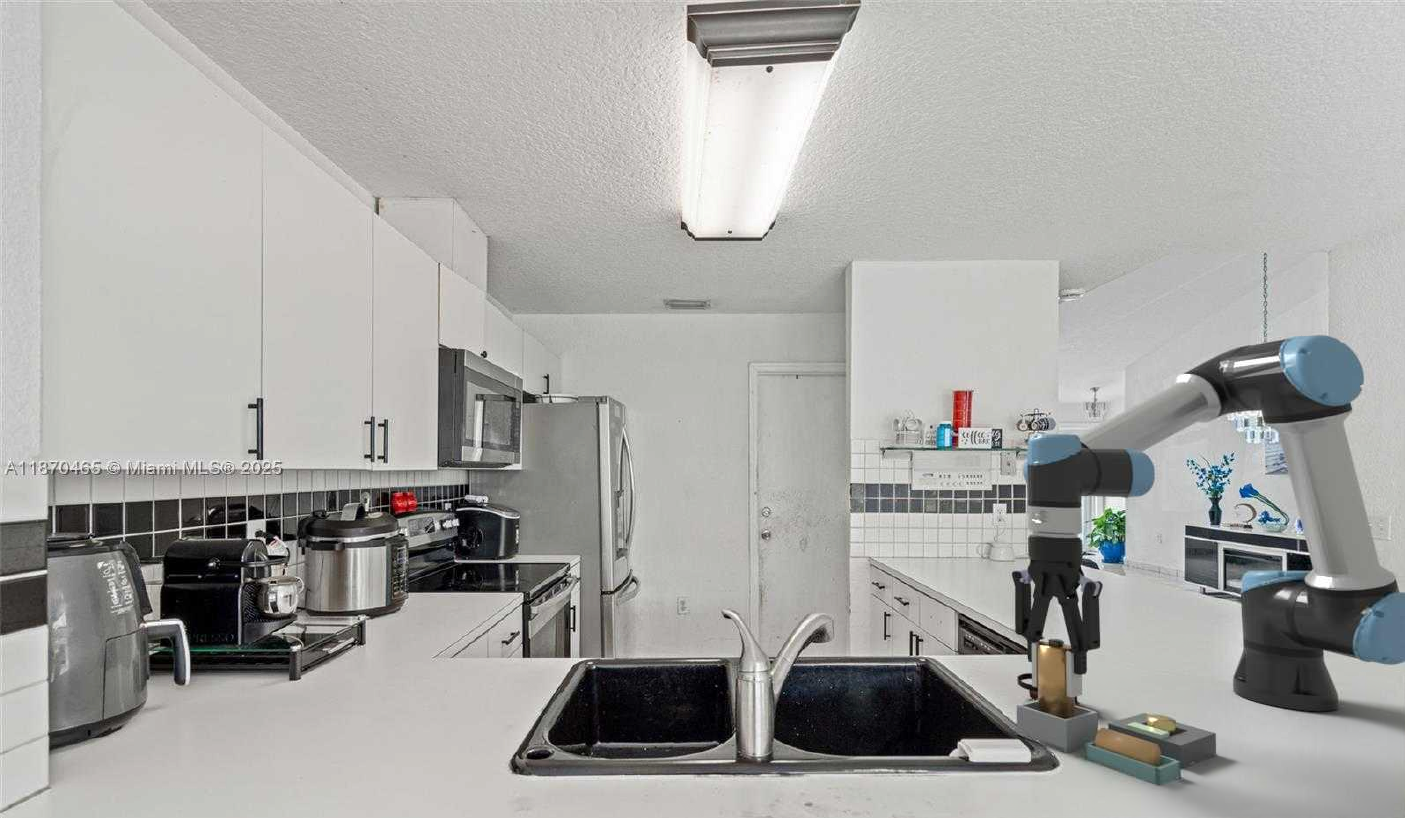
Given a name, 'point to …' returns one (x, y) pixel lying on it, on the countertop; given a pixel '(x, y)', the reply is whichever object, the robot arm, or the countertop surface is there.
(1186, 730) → the base
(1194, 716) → the countertop surface
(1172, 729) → the yellow rounded lump
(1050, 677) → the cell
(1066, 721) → the open box
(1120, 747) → the trough
